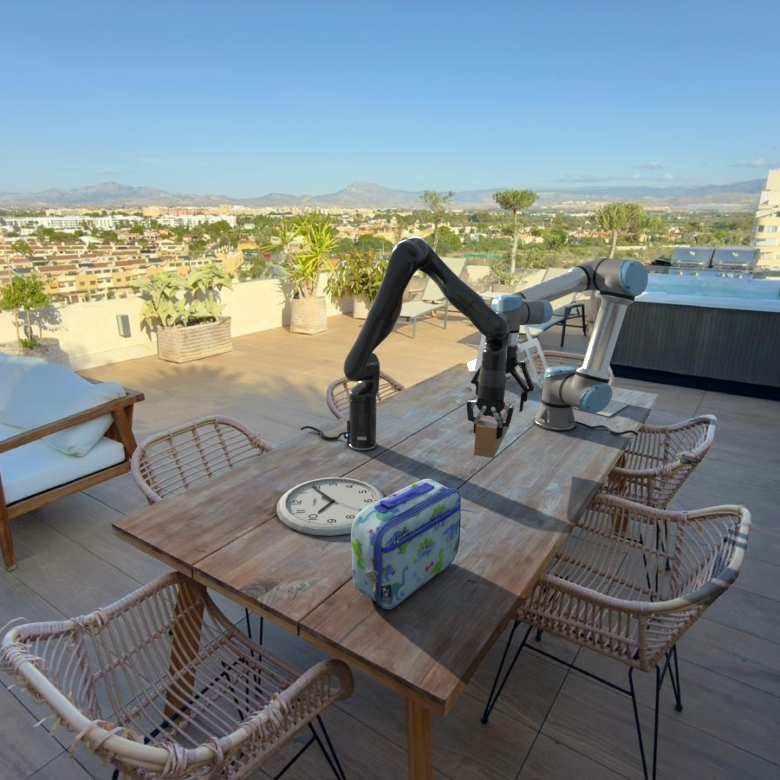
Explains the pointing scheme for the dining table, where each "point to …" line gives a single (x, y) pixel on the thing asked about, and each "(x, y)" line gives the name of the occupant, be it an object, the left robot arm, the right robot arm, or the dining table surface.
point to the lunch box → (405, 541)
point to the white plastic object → (522, 352)
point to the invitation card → (611, 408)
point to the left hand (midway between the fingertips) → (487, 436)
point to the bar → (489, 435)
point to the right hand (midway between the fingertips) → (500, 407)
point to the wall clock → (326, 505)
